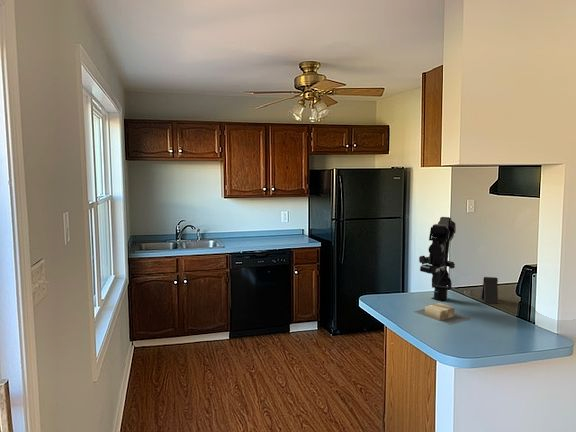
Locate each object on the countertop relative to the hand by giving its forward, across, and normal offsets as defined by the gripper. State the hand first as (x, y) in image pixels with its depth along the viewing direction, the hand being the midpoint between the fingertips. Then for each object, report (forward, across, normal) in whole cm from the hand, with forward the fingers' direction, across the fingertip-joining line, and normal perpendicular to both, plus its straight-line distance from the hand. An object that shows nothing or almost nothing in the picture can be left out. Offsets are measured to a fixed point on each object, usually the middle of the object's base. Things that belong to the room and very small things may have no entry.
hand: (436, 284), depth 215 cm
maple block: (+9, +4, +8) cm, 13 cm away
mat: (+11, +7, +8) cm, 16 cm away
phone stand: (+13, -33, +7) cm, 36 cm away
